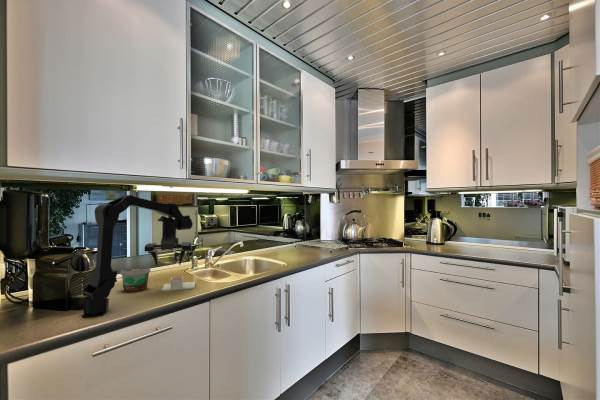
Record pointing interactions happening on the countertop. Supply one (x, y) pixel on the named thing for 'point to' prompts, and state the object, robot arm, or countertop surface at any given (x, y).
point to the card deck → (176, 282)
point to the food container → (135, 280)
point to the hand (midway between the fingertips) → (168, 265)
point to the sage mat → (185, 286)
